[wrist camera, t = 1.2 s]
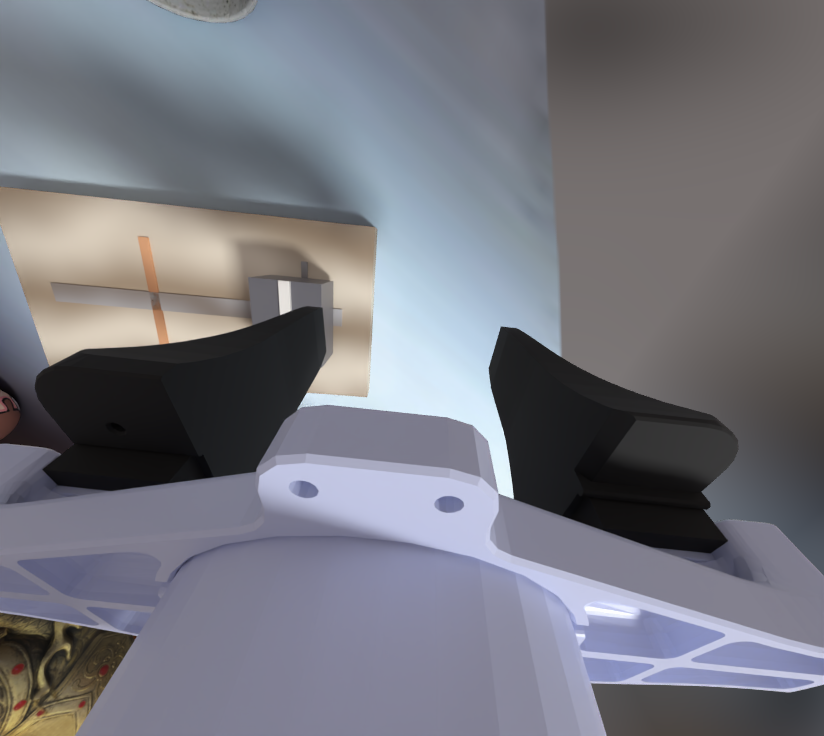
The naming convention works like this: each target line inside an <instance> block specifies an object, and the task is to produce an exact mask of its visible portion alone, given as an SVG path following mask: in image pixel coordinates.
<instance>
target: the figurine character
mask: <svg viewBox="0 0 824 736" xmlns="http://www.w3.org/2000/svg"><path fill="white" fill-rule="evenodd" d="M19 419H20V408H19V405H18V404H17V402H16V401H15V400H14V399H13V398H12V397H11V396H10V395H9V394H7V393H5V392H3V391H1V390H0V440H1V439H2V438H4V437H5V436H7V435H8V434H9V433H10V432H11V431H12V430H13V429H14V428H15V427H16V425H17V424H18V422H19Z"/></svg>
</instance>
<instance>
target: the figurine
mask: <svg viewBox="0 0 824 736" xmlns="http://www.w3.org/2000/svg"><path fill="white" fill-rule="evenodd" d="M134 641H135V640H134V638H133V636H132V635H130V634H124V633H119V632H113V631H108V630H102V629H97V628H91V627H86V626H80V625H75V624H69V623H64V622H58V621H52V620H46V619H40V618H34V617H28V616H21V615H14V614H7V613H0V736H75V735H76V733H77V732H78V730H79V728H80V727H81V725H82V724H83V722H84V720H85V719H86V717H87V716H88V714H89V712H90V711H91V709H92V708H93V706H94V704H95V703H96V701H97V700H98V698H99V697H100V695H101V693H102V692H103V690H104V689H105V687H106V685H107V684H108V682H109V681H110V679H111V677H112V676H113V674H114V673H115V671H116V669H117V668H118V666H119V665H120V663H121V662H122V660H123V658H124V657H125V655H126V654H127V652H128V650H129V649H130V647H131V646H132V644H133V642H134Z"/></svg>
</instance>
